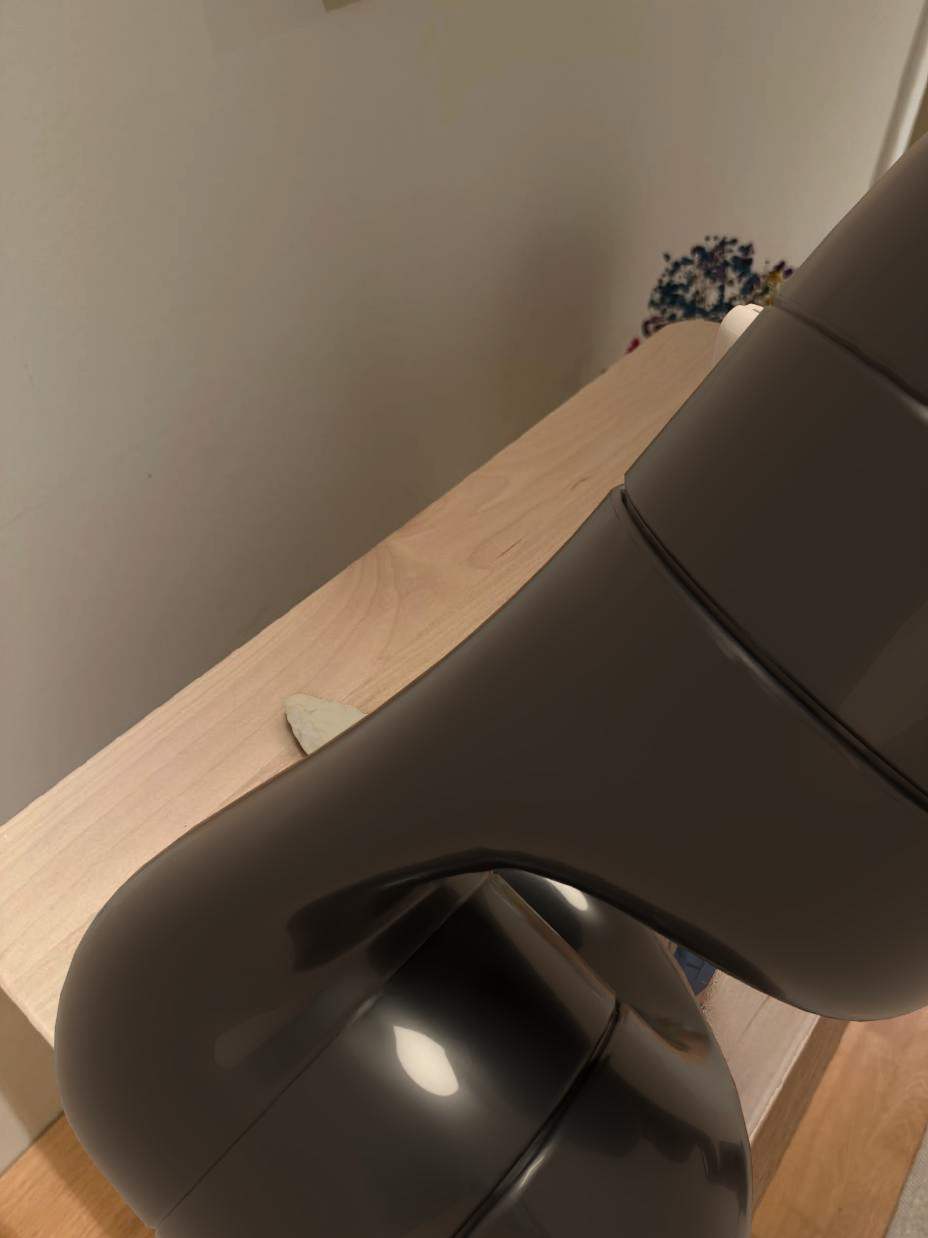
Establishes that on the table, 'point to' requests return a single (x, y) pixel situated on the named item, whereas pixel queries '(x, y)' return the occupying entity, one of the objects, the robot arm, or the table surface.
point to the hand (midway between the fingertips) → (615, 798)
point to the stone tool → (318, 719)
